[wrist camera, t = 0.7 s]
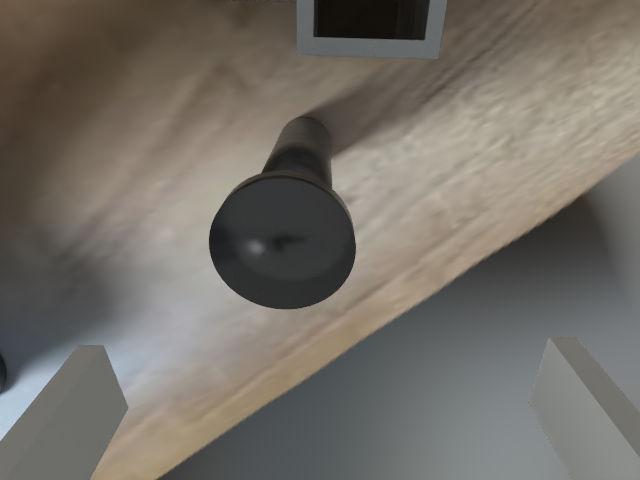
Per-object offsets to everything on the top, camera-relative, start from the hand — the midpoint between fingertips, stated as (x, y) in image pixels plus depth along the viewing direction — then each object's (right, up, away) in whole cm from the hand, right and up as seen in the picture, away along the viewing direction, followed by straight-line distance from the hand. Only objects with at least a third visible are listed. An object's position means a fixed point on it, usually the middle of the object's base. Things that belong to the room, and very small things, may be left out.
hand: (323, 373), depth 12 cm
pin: (-1, +12, +18) cm, 22 cm away
